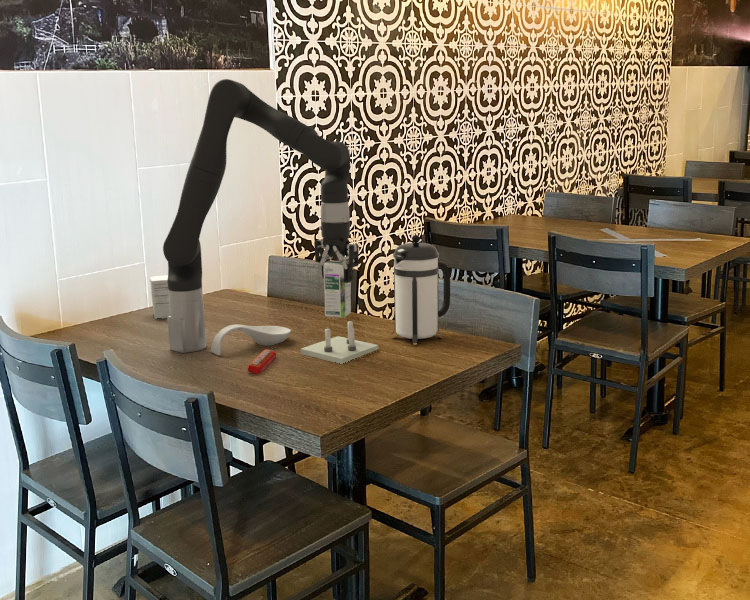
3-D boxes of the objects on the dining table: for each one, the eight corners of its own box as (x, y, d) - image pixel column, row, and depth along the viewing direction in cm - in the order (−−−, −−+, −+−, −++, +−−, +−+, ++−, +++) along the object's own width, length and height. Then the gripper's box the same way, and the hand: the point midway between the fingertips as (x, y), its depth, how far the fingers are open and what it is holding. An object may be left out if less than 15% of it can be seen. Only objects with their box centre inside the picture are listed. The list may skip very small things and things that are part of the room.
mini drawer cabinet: (153, 314, 270) (149, 276, 267) (176, 311, 272) (173, 274, 269) (154, 319, 263) (150, 280, 260) (177, 317, 265) (174, 278, 262)
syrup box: (324, 316, 221) (322, 263, 217) (331, 311, 226) (330, 259, 223) (344, 318, 219) (343, 264, 215) (351, 312, 224) (350, 260, 221)
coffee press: (443, 347, 227) (443, 239, 220) (386, 345, 230) (384, 239, 223) (450, 330, 244) (450, 229, 237) (397, 328, 247) (395, 229, 240)
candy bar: (259, 377, 207) (258, 365, 206) (245, 376, 208) (245, 365, 207) (278, 357, 222) (277, 347, 222) (265, 357, 223) (264, 346, 222)
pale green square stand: (341, 364, 215) (340, 336, 213) (300, 354, 224) (299, 327, 222) (378, 350, 226) (378, 323, 224) (338, 341, 235) (337, 315, 233)
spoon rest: (277, 334, 244) (275, 311, 242) (299, 343, 235) (298, 318, 233) (205, 351, 230) (203, 326, 228) (225, 360, 221) (224, 334, 219)
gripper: (305, 218, 218) (308, 279, 222) (346, 223, 209) (347, 286, 213) (325, 215, 224) (327, 275, 227) (365, 219, 215) (366, 281, 218)
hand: (337, 280), depth 220 cm, fingers closed on syrup box, 7 cm apart
